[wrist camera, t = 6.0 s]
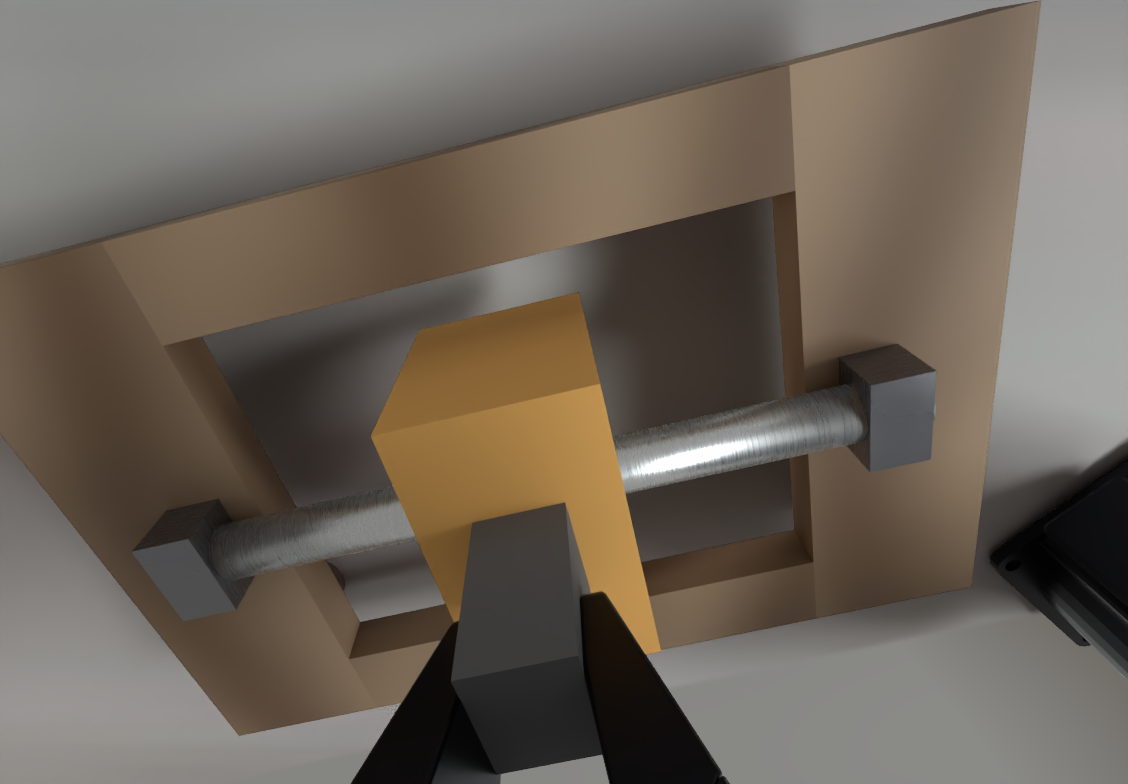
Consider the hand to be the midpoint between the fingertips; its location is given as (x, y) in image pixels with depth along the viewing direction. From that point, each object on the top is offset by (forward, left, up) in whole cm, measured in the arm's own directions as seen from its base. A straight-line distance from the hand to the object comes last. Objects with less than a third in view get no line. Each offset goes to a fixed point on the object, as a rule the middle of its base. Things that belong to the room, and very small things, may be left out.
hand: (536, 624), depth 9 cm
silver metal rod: (0, 0, -4) cm, 4 cm away
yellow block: (0, 0, -6) cm, 6 cm away
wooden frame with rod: (0, 0, -8) cm, 8 cm away
